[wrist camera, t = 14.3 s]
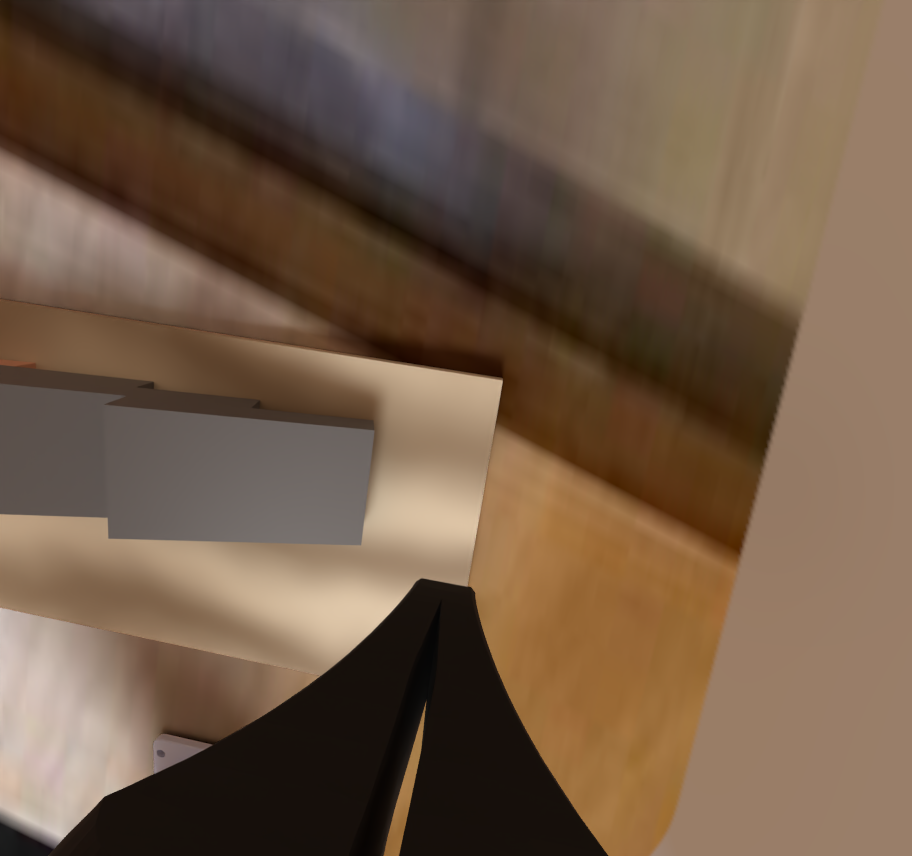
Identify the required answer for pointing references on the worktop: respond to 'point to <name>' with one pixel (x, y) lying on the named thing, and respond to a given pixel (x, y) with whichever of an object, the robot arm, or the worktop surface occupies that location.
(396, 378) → the birch board
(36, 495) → the domino
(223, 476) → the domino
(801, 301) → the worktop surface
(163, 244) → the worktop surface
